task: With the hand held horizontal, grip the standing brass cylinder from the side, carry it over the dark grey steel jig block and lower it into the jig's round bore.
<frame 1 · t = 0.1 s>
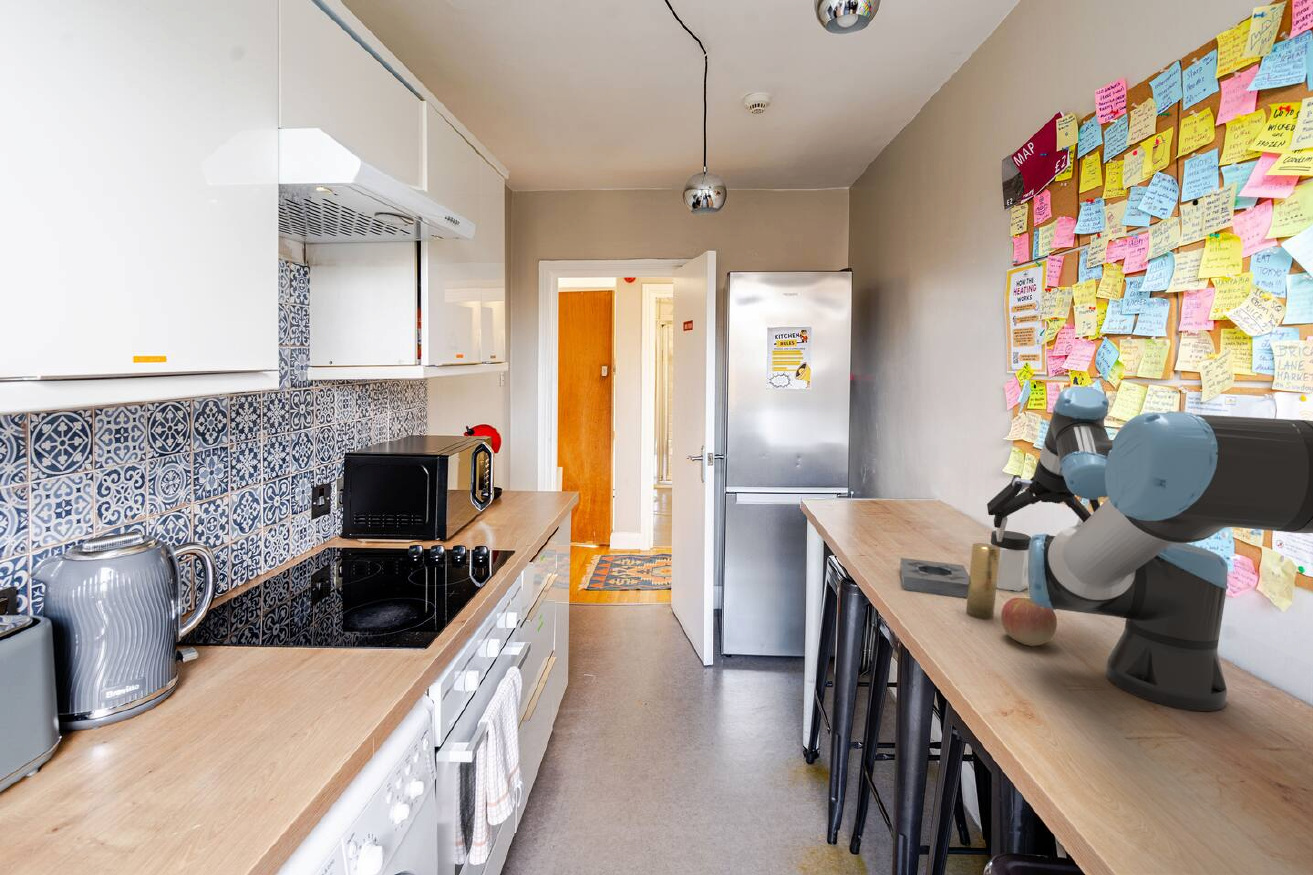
hand: (1035, 540, 137), 15 cm above the breakfast bar, tool tilted 35°, fingers open, 13 cm apart
brass cylinder: (979, 614, 137), on the breakfast bar
apple: (1025, 642, 123), on the breakfast bar
jar: (1005, 586, 157), on the breakfast bar
jig: (933, 583, 156), on the breakfast bar
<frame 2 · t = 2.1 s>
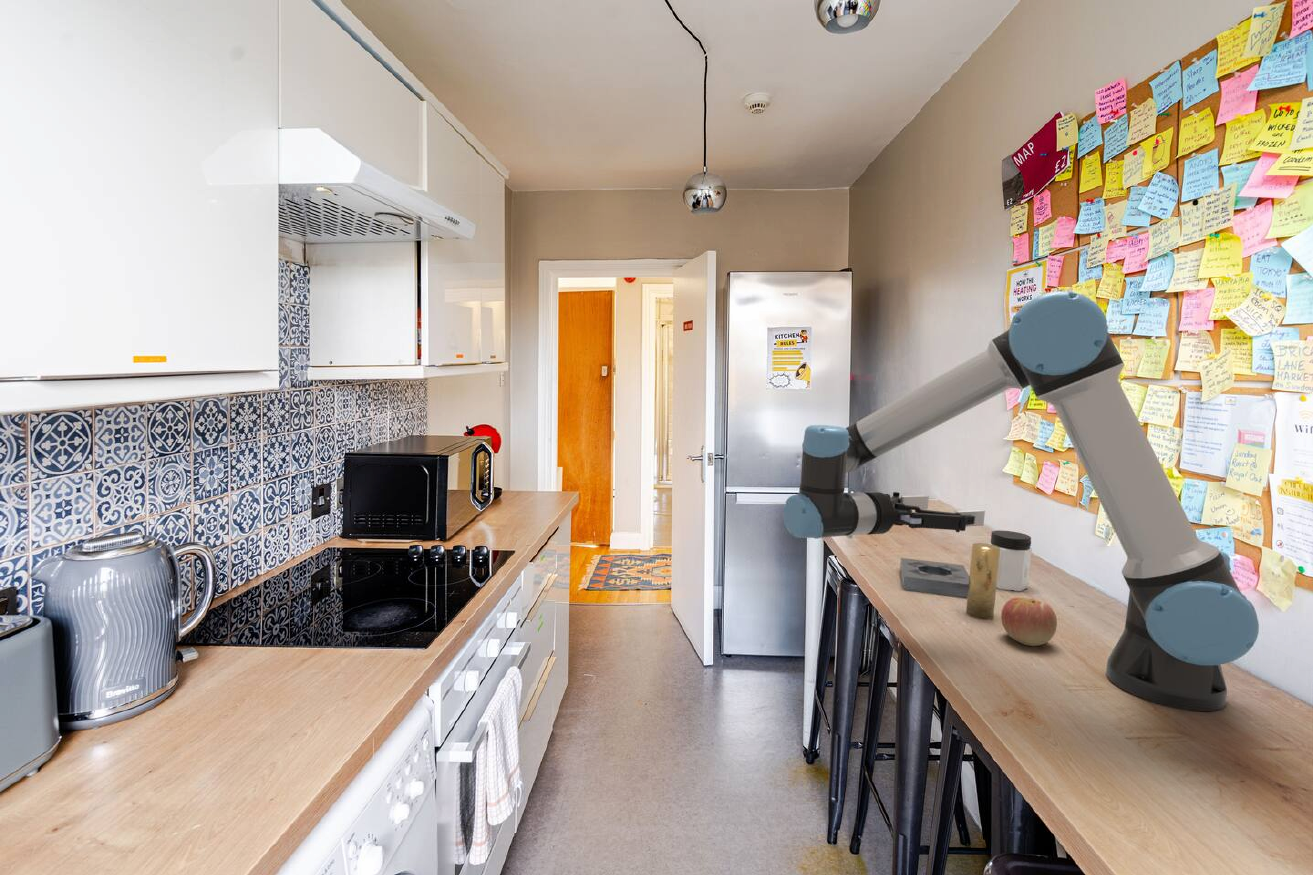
hand: (953, 509, 130), 22 cm above the breakfast bar, tool horizontal, fingers open, 13 cm apart
nothing on the breakfast bar moved.
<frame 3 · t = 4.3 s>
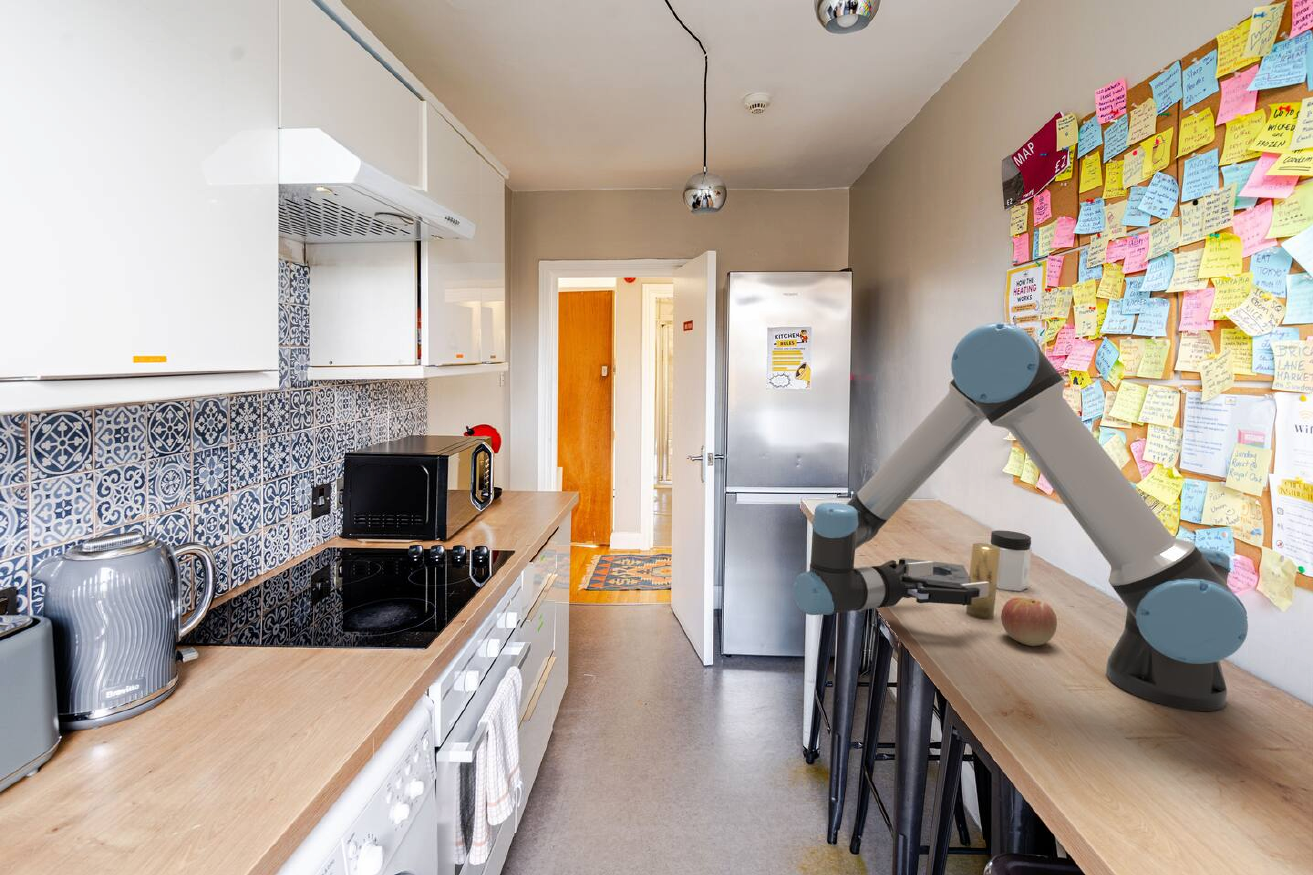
hand: (958, 577, 134), 8 cm above the breakfast bar, tool horizontal, fingers open, 13 cm apart
nothing on the breakfast bar moved.
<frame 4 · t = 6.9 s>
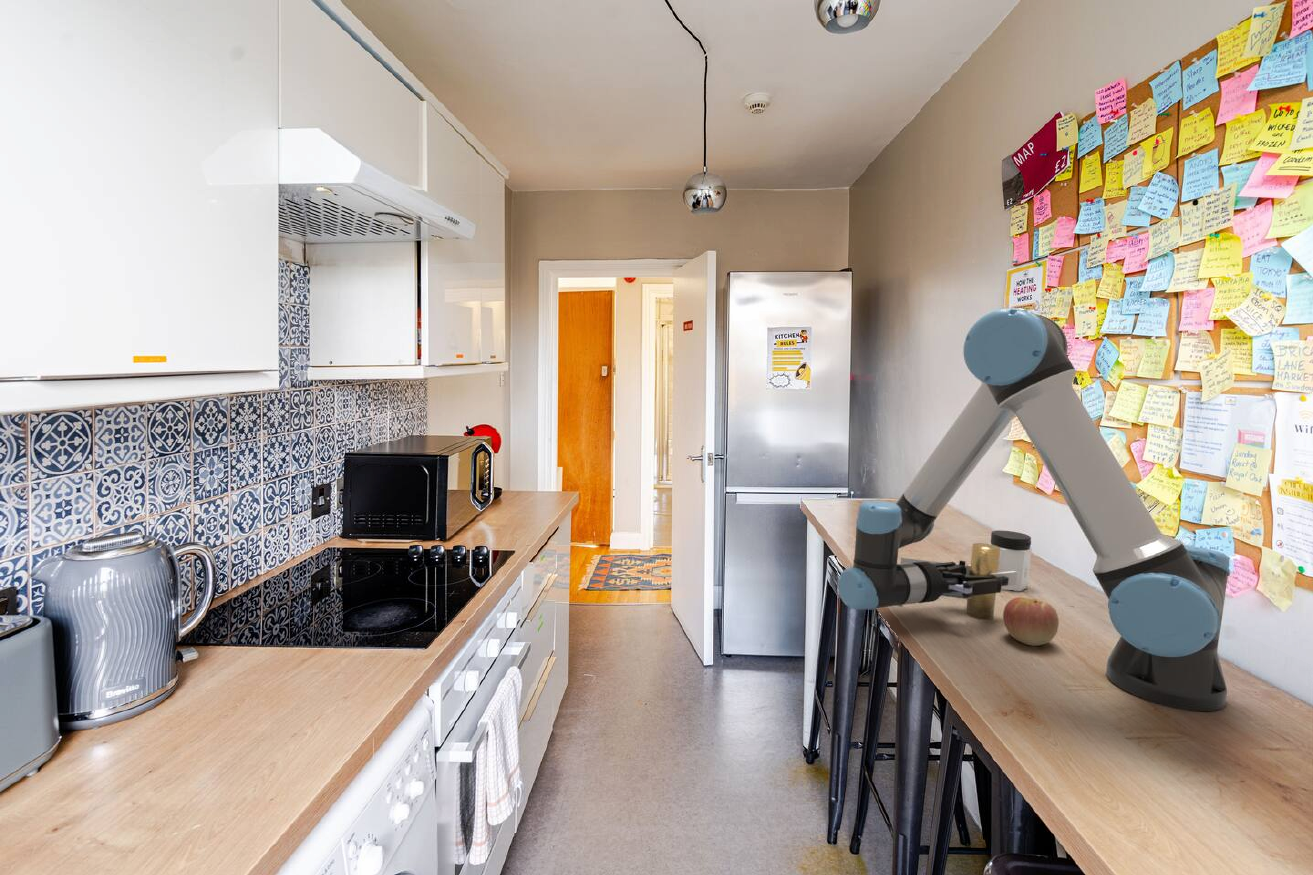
hand: (1002, 573, 138), 8 cm above the breakfast bar, tool horizontal, fingers closed on brass cylinder, 5 cm apart
brass cylinder: (979, 614, 136), on the breakfast bar, touching gripper
everything else where it was.
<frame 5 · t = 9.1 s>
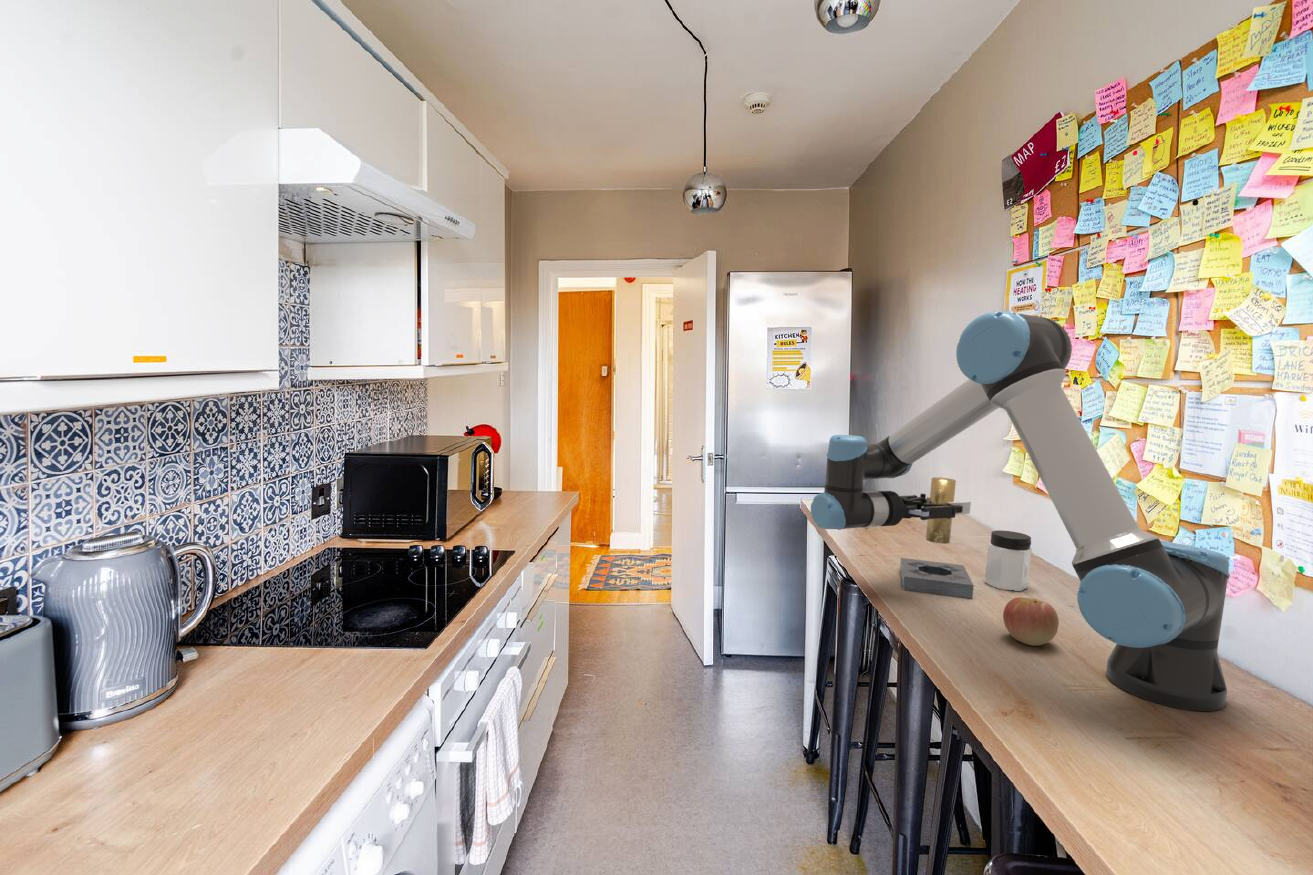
hand: (958, 504, 155), 18 cm above the breakfast bar, tool horizontal, fingers closed on brass cylinder, 5 cm apart
brass cylinder: (937, 540, 153), point 10 cm above the breakfast bar, touching gripper
everything else where it was.
when the fingers open (9 cm above the breakfast bar, at t = 11.7 s): brass cylinder stays where it is, resting in jig.
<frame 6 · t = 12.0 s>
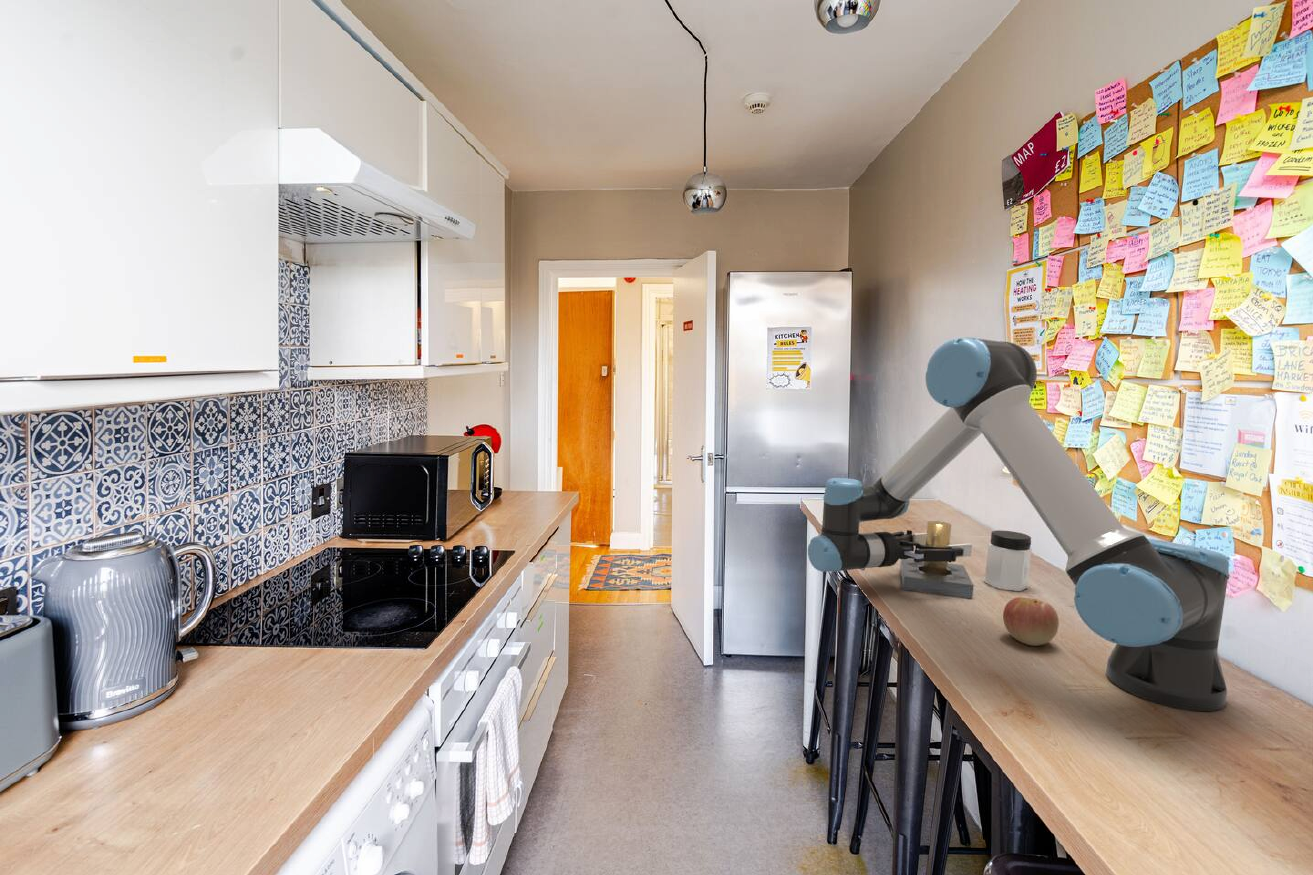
hand: (952, 543, 156), 9 cm above the breakfast bar, tool horizontal, fingers open, 9 cm apart
brass cylinder: (933, 583, 156), resting in jig
everything else where it was.
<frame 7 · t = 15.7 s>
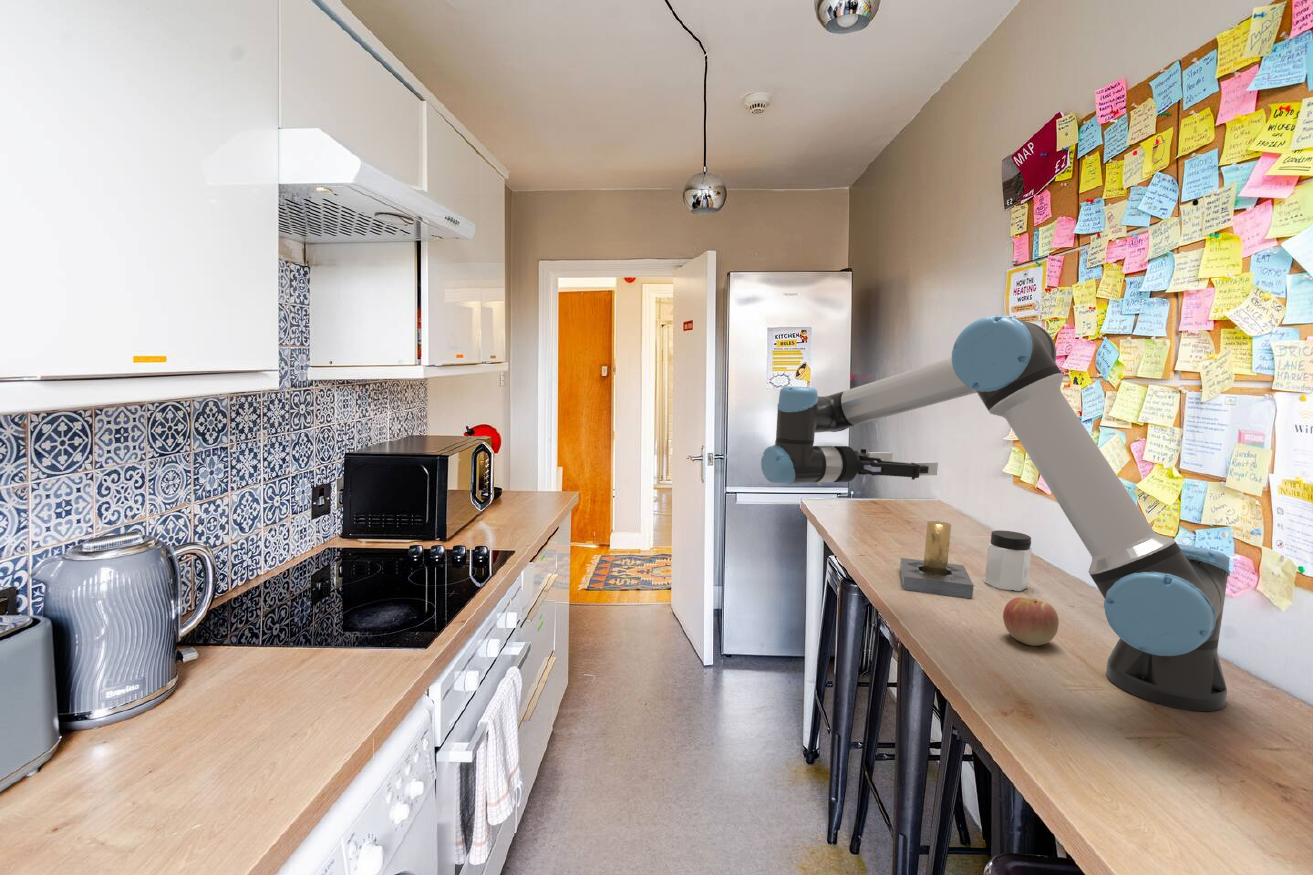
hand: (912, 463, 149), 28 cm above the breakfast bar, tool horizontal, fingers open, 13 cm apart
nothing on the breakfast bar moved.
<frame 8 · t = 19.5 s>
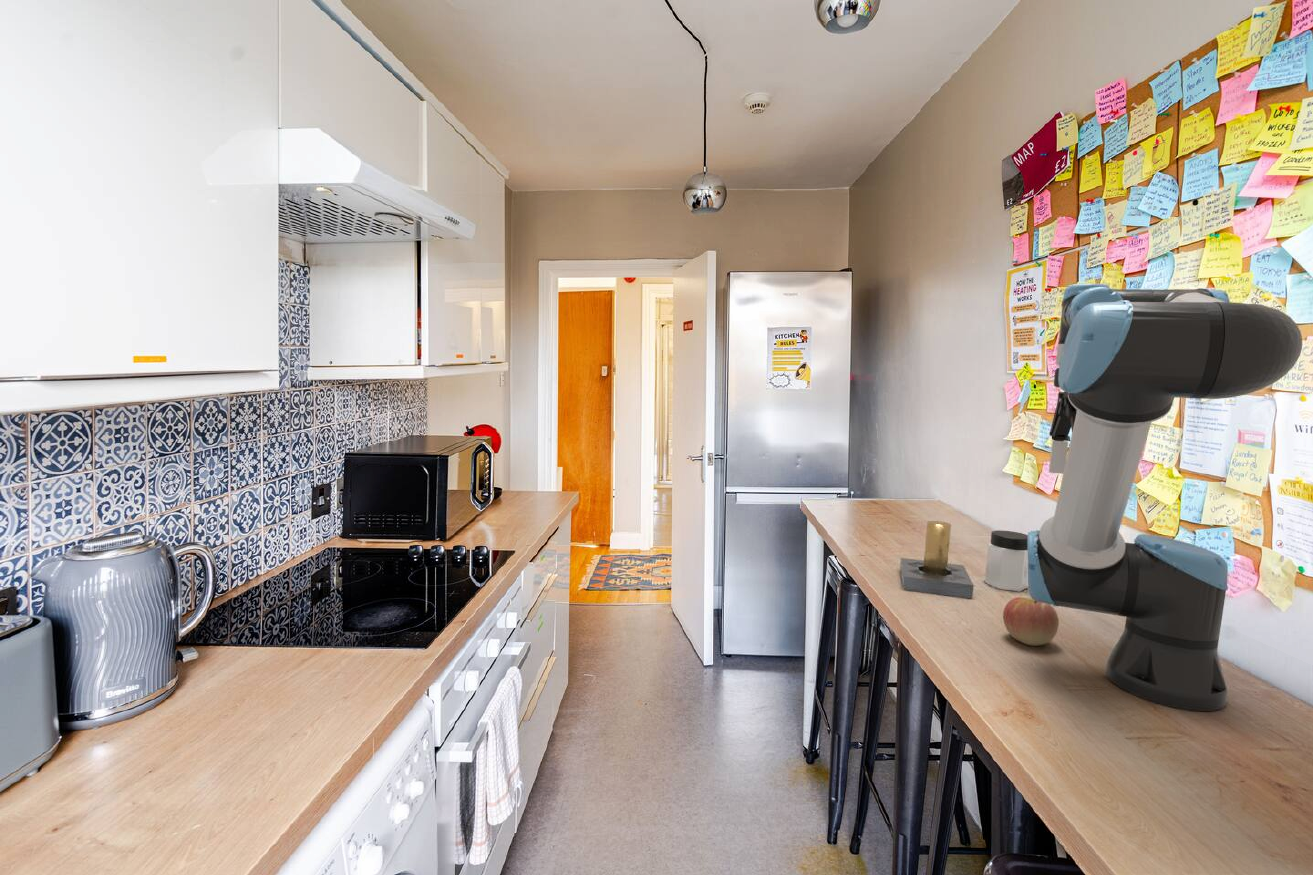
hand: (1065, 477, 132), 29 cm above the breakfast bar, tool pointing down, fingers open, 13 cm apart
nothing on the breakfast bar moved.
at the end: brass cylinder 0.1 cm from the jig (horizontally); brass cylinder resting in jig; brass cylinder tilted 1° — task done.
